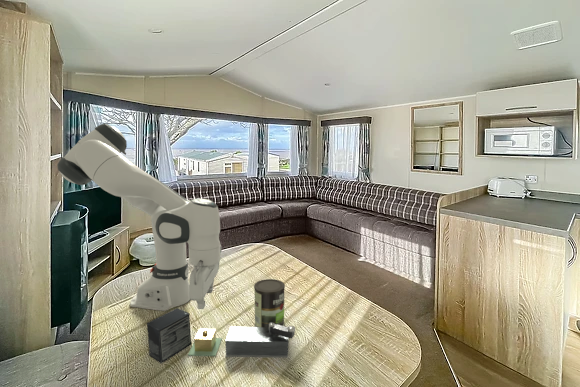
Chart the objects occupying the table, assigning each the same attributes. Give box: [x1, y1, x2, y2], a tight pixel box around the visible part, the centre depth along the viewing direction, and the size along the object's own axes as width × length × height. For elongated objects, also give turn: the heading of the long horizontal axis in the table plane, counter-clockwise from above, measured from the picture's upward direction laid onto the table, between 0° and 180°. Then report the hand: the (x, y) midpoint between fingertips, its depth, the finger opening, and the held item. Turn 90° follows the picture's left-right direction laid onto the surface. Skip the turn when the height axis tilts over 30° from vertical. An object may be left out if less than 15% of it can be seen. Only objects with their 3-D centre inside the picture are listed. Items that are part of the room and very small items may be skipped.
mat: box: [187, 337, 223, 357], centre depth 95 cm, size 8×8×1 cm
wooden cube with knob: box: [193, 328, 217, 352], centre depth 94 cm, size 5×5×5 cm
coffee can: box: [253, 278, 286, 327], centre depth 106 cm, size 10×10×14 cm
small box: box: [146, 307, 193, 364], centre depth 93 cm, size 11×6×10 cm, turn 145°
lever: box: [269, 322, 296, 340], centre depth 92 cm, size 2×8×3 cm, turn 66°
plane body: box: [225, 326, 290, 359], centre depth 94 cm, size 18×7×5 cm, turn 89°
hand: (205, 299), depth 93 cm, fingers open, 8 cm apart
